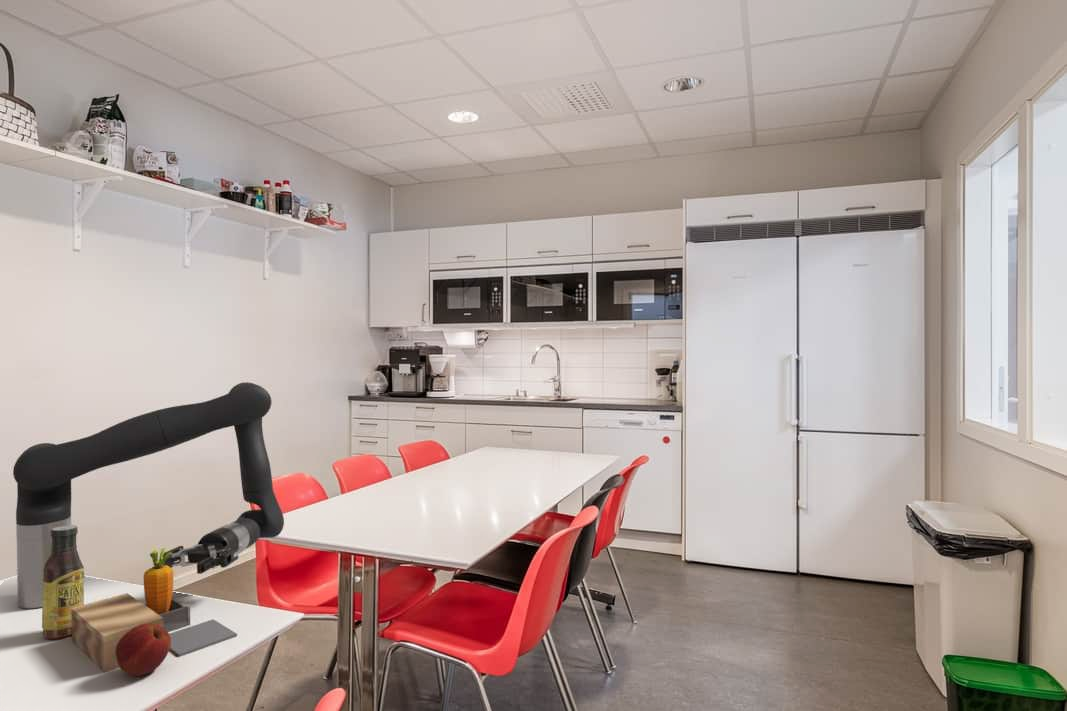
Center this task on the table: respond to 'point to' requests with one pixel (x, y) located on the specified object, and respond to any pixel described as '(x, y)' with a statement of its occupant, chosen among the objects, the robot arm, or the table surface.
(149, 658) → the apple
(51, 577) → the sauce bottle
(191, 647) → the rubber mat
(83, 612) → the wooden drawer box
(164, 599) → the carrot
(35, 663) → the table surface
